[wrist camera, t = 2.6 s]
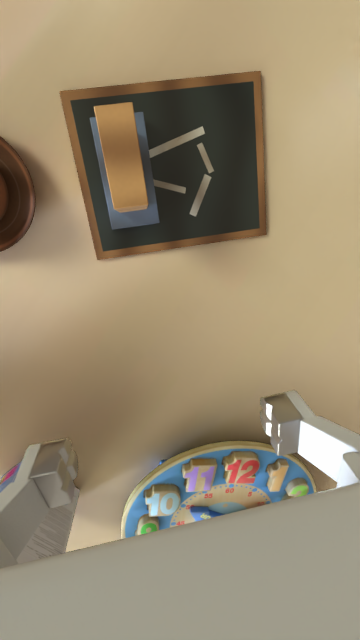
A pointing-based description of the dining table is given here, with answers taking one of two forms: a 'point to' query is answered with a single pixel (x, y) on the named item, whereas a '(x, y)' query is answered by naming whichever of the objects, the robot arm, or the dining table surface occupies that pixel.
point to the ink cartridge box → (46, 526)
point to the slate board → (180, 161)
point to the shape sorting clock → (213, 485)
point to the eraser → (125, 165)
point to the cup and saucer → (14, 197)
